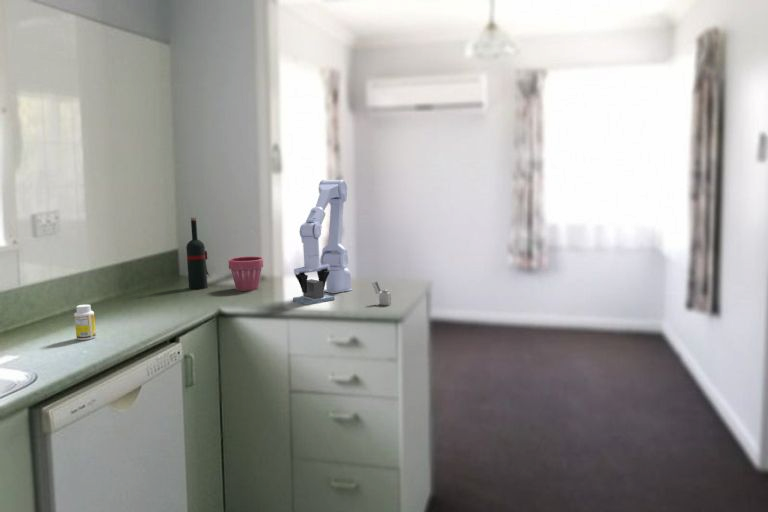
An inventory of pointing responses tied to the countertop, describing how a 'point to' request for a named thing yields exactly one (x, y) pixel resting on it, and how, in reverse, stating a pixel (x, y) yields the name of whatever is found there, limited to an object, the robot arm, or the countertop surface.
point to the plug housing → (314, 289)
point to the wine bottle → (196, 260)
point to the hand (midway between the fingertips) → (313, 291)
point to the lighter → (382, 294)
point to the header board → (310, 301)
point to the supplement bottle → (85, 323)
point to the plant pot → (246, 272)
